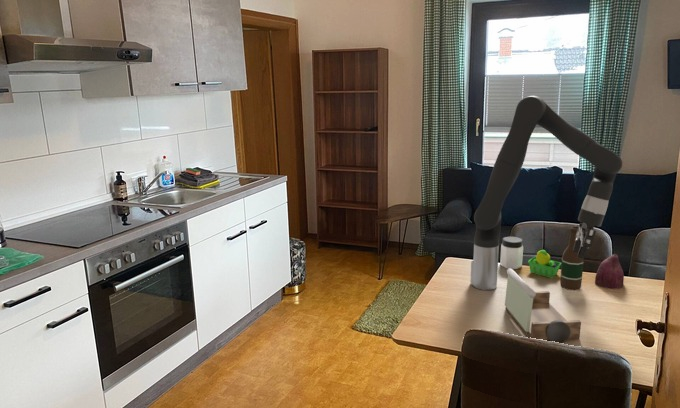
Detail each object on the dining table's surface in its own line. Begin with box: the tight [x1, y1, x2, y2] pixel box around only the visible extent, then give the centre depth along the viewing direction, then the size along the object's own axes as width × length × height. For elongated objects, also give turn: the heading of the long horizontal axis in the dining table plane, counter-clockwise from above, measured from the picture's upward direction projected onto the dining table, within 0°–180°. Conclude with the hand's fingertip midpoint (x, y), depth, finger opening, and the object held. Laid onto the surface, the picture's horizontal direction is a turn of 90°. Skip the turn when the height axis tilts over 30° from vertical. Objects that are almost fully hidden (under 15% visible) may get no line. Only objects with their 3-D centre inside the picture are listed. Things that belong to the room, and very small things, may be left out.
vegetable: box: [594, 253, 625, 290], centre depth 195 cm, size 10×10×15 cm
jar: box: [499, 236, 524, 270], centre depth 217 cm, size 9×8×12 cm
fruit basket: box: [527, 249, 562, 279], centre depth 207 cm, size 11×9×11 cm
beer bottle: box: [559, 226, 585, 291], centre depth 193 cm, size 8×8×24 cm
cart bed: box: [505, 290, 582, 344], centre depth 167 cm, size 15×27×7 cm, turn 2°
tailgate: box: [504, 268, 536, 332], centre depth 166 cm, size 2×19×14 cm, turn 2°
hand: (578, 255), depth 175 cm, fingers open, 8 cm apart
